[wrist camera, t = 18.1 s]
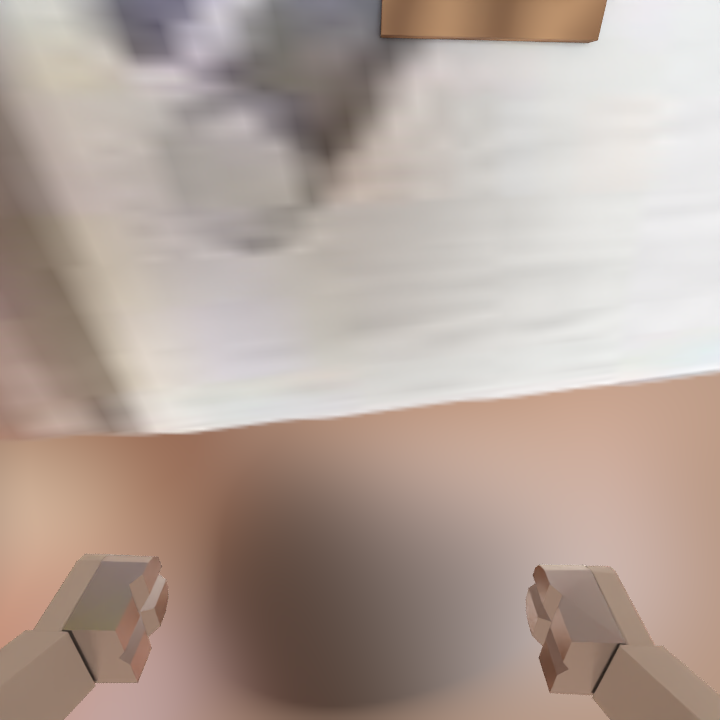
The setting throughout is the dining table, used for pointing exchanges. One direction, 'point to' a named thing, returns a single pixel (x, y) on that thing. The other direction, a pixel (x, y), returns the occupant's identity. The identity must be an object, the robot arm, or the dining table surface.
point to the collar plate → (494, 20)
